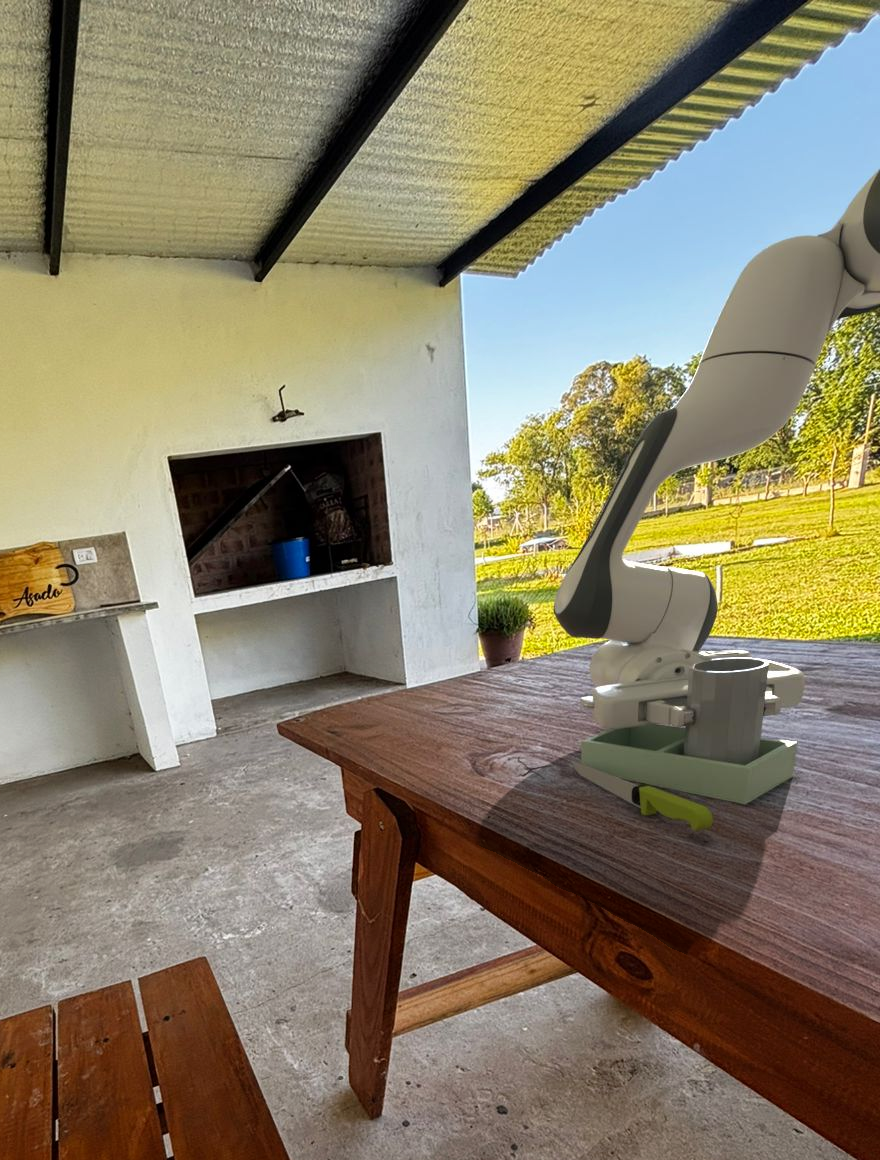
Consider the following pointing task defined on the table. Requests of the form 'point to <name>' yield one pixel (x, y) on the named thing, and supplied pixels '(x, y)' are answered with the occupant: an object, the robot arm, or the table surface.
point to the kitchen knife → (650, 798)
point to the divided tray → (686, 763)
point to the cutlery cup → (726, 709)
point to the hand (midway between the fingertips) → (729, 713)
